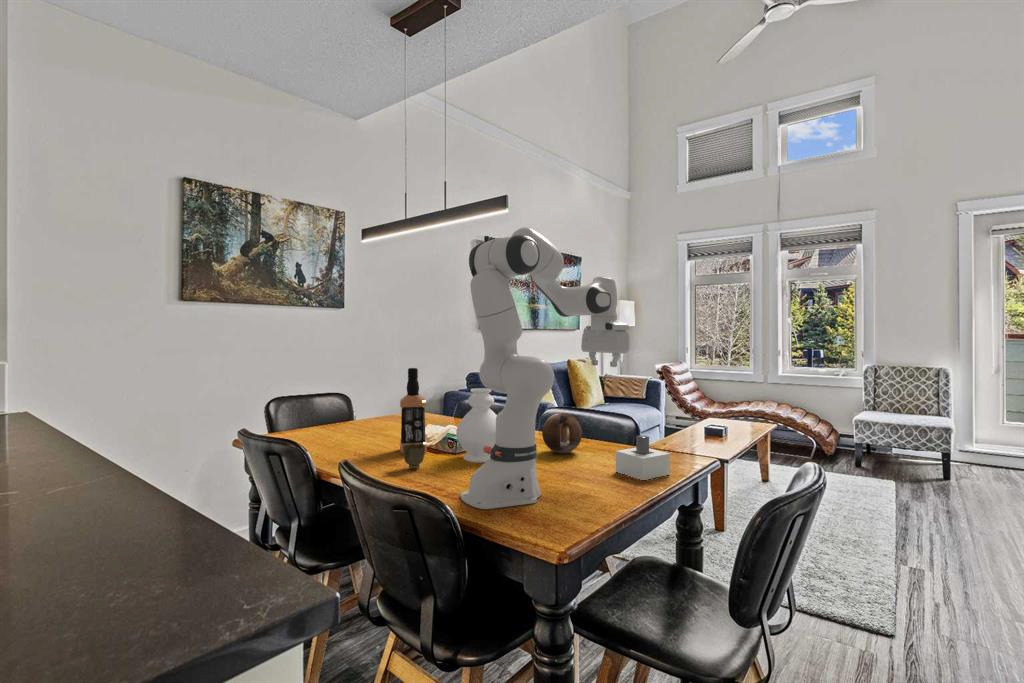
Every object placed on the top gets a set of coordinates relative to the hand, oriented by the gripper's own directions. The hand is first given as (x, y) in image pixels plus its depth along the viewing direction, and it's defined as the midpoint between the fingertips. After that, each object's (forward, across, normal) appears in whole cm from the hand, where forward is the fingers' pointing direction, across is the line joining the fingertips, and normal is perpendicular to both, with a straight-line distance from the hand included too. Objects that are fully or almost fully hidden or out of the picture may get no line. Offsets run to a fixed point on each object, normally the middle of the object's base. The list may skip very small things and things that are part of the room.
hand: (603, 366), depth 175 cm
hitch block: (+34, +14, +4) cm, 37 cm away
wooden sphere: (+34, -23, 0) cm, 41 cm away
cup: (+34, -31, -56) cm, 73 cm away
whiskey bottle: (+34, -55, -47) cm, 80 cm away
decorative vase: (+34, -32, -30) cm, 56 cm away
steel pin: (+34, +14, +4) cm, 37 cm away
